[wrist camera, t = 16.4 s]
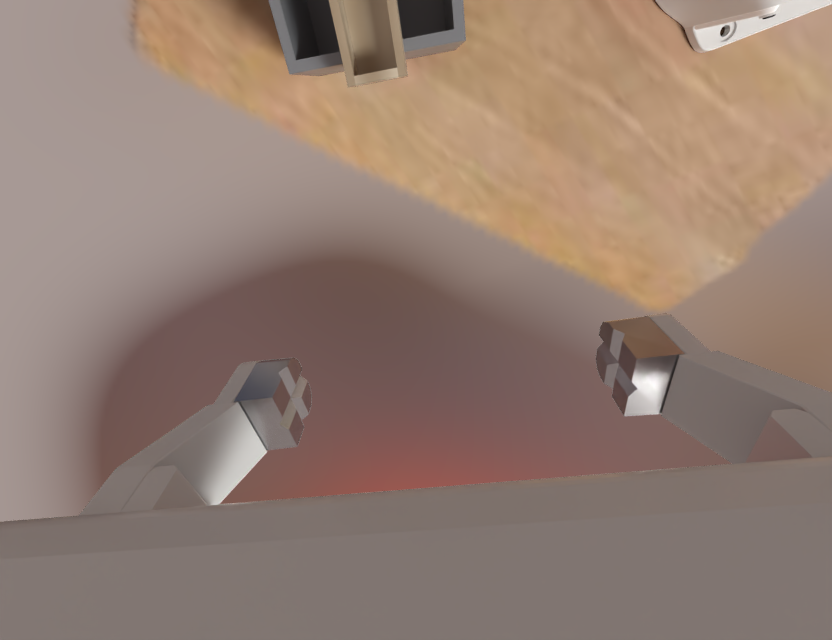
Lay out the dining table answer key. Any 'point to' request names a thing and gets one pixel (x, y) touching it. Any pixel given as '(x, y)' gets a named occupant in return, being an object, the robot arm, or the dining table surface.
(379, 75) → the birch crate
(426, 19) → the charcoal crate
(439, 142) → the dining table surface
